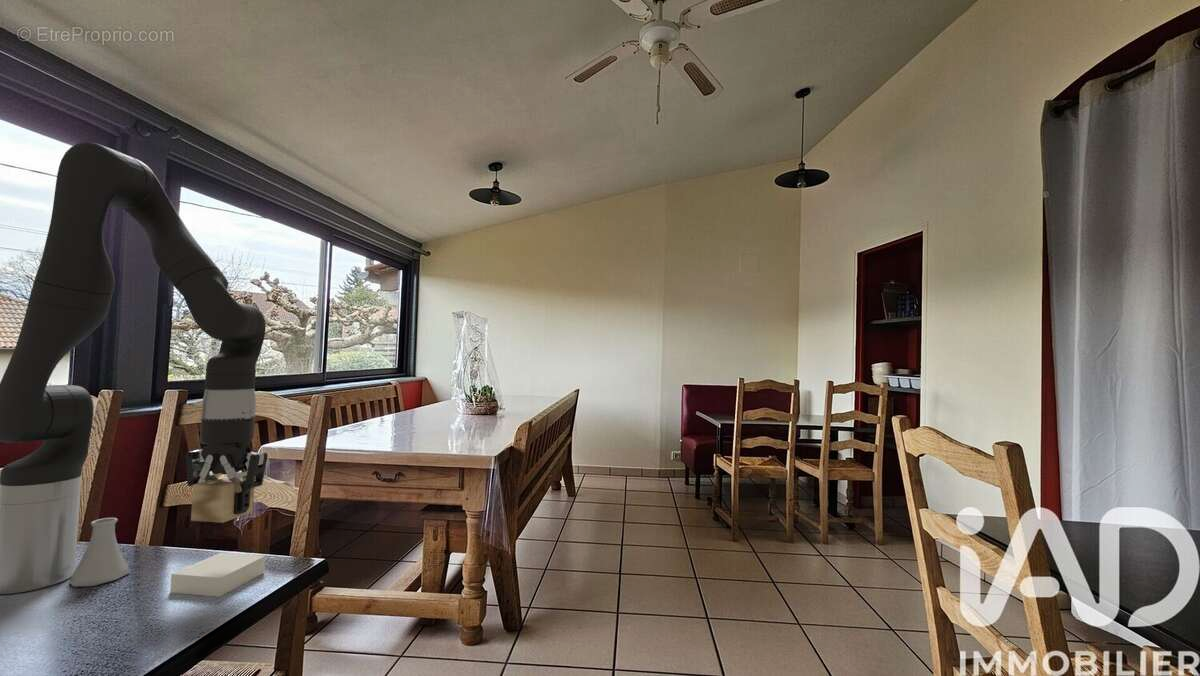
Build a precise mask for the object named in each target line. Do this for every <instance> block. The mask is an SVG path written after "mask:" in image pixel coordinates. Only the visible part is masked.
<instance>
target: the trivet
mask: <svg viewBox="0 0 1200 676" xmlns="http://www.w3.org/2000/svg"><path fill="white" fill-rule="evenodd" d="M265 561H266V556H265V555H257V554H256V555H255V554H254V555H253V554H245V553H244V554H242V553H231V552H230V553H229V552H219V553H217V554H214V555H212V556H209V557H207V558H205V559H203V560H201V561H198V562H196V563H194V564H192V565H188V566H187V567H184V568H181V569H179V570H177V571H175V572H173V573H171V574H170V577H171V578H170V588H169V589H170V590H169V591H170V593H172V594H181V595H182V594H185V595H196V596H206V597H215V598H216V597H218V598H220V597H222V596H223V595H225V594H228V593H229V592H231V591H233V590H235V589H236V588H237V589H238V588H239V587H241V586H243V585H244V584H246V583H248V582H250V581H252V580H254V579H255V578H258V577H259V576H261V575H263V574H265V565H266V564H265V563H266V562H265Z"/></svg>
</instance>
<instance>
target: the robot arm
mask: <svg viewBox="0 0 1200 676" xmlns="http://www.w3.org/2000/svg"><path fill="white" fill-rule="evenodd" d="M55 181H56V182H55V189H54V195H53V196H54V197H53V204H52V212H51V218H50V222H49V223H50V224H49V228H48V230H47V236H46V240H45V243H44V247H43V248H44V249H43V252H42V256H41V259H40V263H39V266H38V269H37V270H36V271H37V272H36V275H35V277H34V280H33V284H32V287H31V291H30V294H29V297H28V302H27V305H26V306H27V307H26V311H25V314H24V317H23V321H22V325H21V328H20V332H19V335H18V339H17V341H16V344H15V347H14V350H13V353H12V355H11V358H10V360H9V362H8V365H7V366H6V368H5V371H4V373H3V376H2V378H1V380H0V442H1V443H5V444H6V443H7V444H11V443H12V444H13V443H25V442H26V443H27V442H28V443H29V442H34V441H35V442H36V441H42V444H41V445H40V446H39V447H38V448H37V449H36V450H35V451H33V452H31V453H30V454H28V455H26V456H23V457H22V458H19V459H17V460H15V461H13V462H10V463H8V464H6V465H4V466H3V467H2V469H1V471H0V595H9V594H10V595H11V594H18V593H24V592H30V591H35V590H38V589H42V588H45V587H49V586H53V585H56V584H58V583H61V582H64V581H66V580H68V579H69V578H70V579H71V577H72V575H73V573H74V572H75V565H76V553H77V541H78V540H77V539H78V531H79V530H78V529H79V515H80V505H81V504H80V503H81V491H82V490H81V487H82V474H83V473H82V472H83V466H84V464H85V463H86V460H87V458H88V455H89V448H90V439H91V435H92V434H91V433H92V428H93V422H94V413H95V412H94V411H95V409H94V401H93V399H92V395H91V394H90V393H89V391H88V390H87V389H86V388H84V387H83V386H80V385H74V384H73V385H72V384H71V385H69V384H65V385H64V384H62V385H60V384H59V385H48V383H49V381H50V378H51V376H52V374H53V372H54V371H55V368H56V367H57V365H58V364H59V363H60V362H61V360H62V359H63V358H64V357H65V356H66V355H67V354H68V353H69V352H71V351H72V350H73V349H74V348H75V347H76V346H78V345H79V344H80V343H82V342H83V341H85V339H86V338H88V337H89V336H90V335H91V334H92V333H93V332H94V331H96V329H98V328H99V327H100V325H101V324H102V323H103V322H104V320H105V319H106V317H107V315H108V313H109V312H108V311H109V309H110V305H111V302H112V298H113V295H114V294H113V293H115V292H114V291H115V285H116V279H115V273H114V270H113V267H112V263H111V260H110V258H109V257H110V256H109V254H108V252H107V249H106V245H105V242H104V237H103V236H104V232H103V231H104V225H105V220H106V216H107V212H108V209H109V207H110V206H113V207H118V208H121V209H123V210H124V211H125V212H127V214H129V216H131V217H132V218H133V219H134V220H135V221H137V223H138V224H139V225H140V226H141V227H142V229H143V230H144V232H145V233H146V234H147V237H148V239H149V242H150V249H151V253H152V255H153V259H154V261H155V263H156V265H157V266H158V268H159V270H160V271H161V273H163V275H164V276H165V277H166V278H167V280H168V281H169V282H170V284H171V285H172V286H173V287H174V288H175V289H176V290H177V292H179V294H180V295H182V297H183V299H184V301H185V304H186V307H187V308H188V310H189V312H190V314H191V316H192V319H193V320H194V321H195V324H196V325H197V326H198V327H199V328H200V329H201V330H202V331H203V332H204V333H205V334H206V335H207V336H209V337H211V338H212V339H215V340H218V341H221V343H220V347H219V352H218V354H217V355H214V356H212V357H210V358H209V359H208V360H207V363H206V368H205V379H204V380H205V381H204V393H203V398H202V402H201V418H200V430H199V431H200V432H199V433H200V434H199V442H200V444H202V445H203V448H201V449H195V450H192V451H187V452H186V453H185V470H186V483H187V486H188V487H193V484H197V483H201V482H207V481H209V480H213V479H218V478H220V477H222V475H224V476H227V477H228V479H229V481H232V483H234V484H235V485H234V488H235V491H236V492H237V493H235V494H234V511H233V513H234V514H238V515H239V514H242V513H244V512H246V511H247V509H248V508H249V506H250V503H249V502H250V491H251V489H252V488H254V489H255V488H259V487H261V486H262V485H263V482H264V477H265V471H266V466H267V462H268V461H267V460H268V453H267V452H265V451H263V452H254V451H252V450H253V449H252V447H251V442H252V441H253V440H254V438H255V428H256V427H255V426H256V425H255V422H256V405H257V404H256V403H257V400H256V399H257V398H256V392H255V391H256V389H255V388H256V373H257V371H256V368H257V367H256V365H257V362H258V360H259V357H260V355H261V351H262V347H263V343H264V341H265V336H266V326H267V325H266V319H265V317H264V314H263V312H262V311H260V309H258V307H256V306H254V305H252V304H248V303H243V302H239V301H236V300H235V299H234V297H232V295H231V294H230V293H229V291H228V287H229V282H228V280H227V277H226V276H225V275H224V273H223V272H222V271H221V269H220V268H219V267H218V266H217V265H216V263H215V262H214V261H213V260H212V258H211V257H210V256H209V255H208V254H207V253H206V251H205V250H204V249H203V248H202V247H201V245H200V244H199V243H198V241H197V240H196V239H195V237H194V236H193V235H192V233H191V232H190V231H189V229H188V228H187V226H186V224H185V223H184V221H183V220H182V218H181V217H180V215H179V214H178V211H177V210H176V208H175V207H174V205H173V203H172V201H171V200H170V198H169V196H168V195H167V193H166V191H165V189H164V187H163V185H162V184H161V182H160V181H159V179H158V177H157V176H156V175H155V173H154V172H153V170H152V169H151V168H150V167H149V166H148V165H147V164H145V163H144V162H143V161H141V160H139V159H137V158H135V157H133V156H130V155H127V154H125V153H123V152H120V151H118V150H115V149H112V148H110V147H107V146H105V145H102V144H99V143H95V142H92V141H91V142H90V141H84V142H83V141H82V142H79V143H76V144H74V145H72V146H71V147H70V148H69V149H67V150H66V152H65V153H64V155H63V156H62V159H61V160H60V162H59V166H58V170H57V174H56V180H55ZM240 471H241V472H240ZM239 472H240V473H239ZM196 473H197V474H196ZM196 475H197V477H196ZM240 478H241V479H242V481H244V484H242V482H241V479H240ZM254 479H255V480H254Z"/></svg>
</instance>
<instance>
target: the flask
mask: <svg viewBox="0 0 1200 676" xmlns="http://www.w3.org/2000/svg"><path fill="white" fill-rule="evenodd" d="M118 521H119V519H118V518H116V517H104V518H99V519H96V520H93V521H91V522H90V526H92V532H91V533H92V534H91V536H90V540H89V542H88V546H87V547H86V549H85V551H84V553H83V555H82V557H81V558H80V561H79V563H78V565H77V566H76V568H75V569H74V573H73V575H72V576H71V577H70V579H69V581H68V583H69V584H70V585H72V587H73V588H74V587H75V588H76V587H94V586H98V585H102V584H105V583H108V582H112V581H115V580H116V581H117V580H118V579H120V578H123V577H124V576H126V575H128V574H130V573H131V570H130V568H129V566H128V564H127V562H126V558H125V557H124V555H123V553H122V551H121V548H120V546H119V544H118V540H117V537H116V535H117V534H116V523H117V522H118Z"/></svg>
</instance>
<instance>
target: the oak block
mask: <svg viewBox="0 0 1200 676" xmlns="http://www.w3.org/2000/svg"><path fill="white" fill-rule="evenodd" d="M240 479H241V478H240ZM254 480H255V479H254ZM241 482H242V484H244V481H242V479H241ZM234 485H235V484H234V483H232V481H229V479H228V477H227V475H224V476H220V477H219V478H218V479H213V480H209V481H207V482H201V483H197V484H193V486H192V499H191V511H190V512H191V514H190V521H192V522H205V523H207V522H209V523H223V524H224V523H226V522H228V521H231V520H235V519H237V518H240V517H243V516H246V515H248V514H251V513H253V512H254V502H255V501H254V500H255V499H254V497H255V488H252V489H251V491H250V502H249V503H250V506H249V508H248V509H247V511H246V512H244V513H242V514H239V515H238V514H234V513H233V511H234V494H235V493H237V492H236V491H235V488H234Z"/></svg>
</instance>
